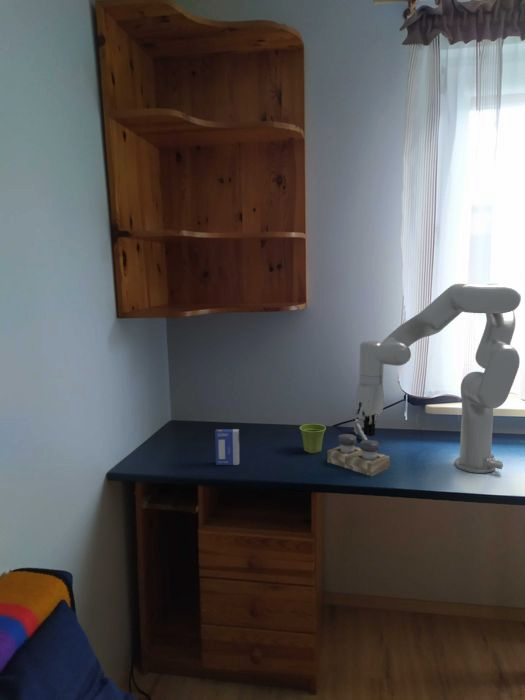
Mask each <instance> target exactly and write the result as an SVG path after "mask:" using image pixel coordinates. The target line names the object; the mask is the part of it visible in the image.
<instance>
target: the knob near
mask: <svg viewBox="0 0 525 700" xmlns="http://www.w3.org/2000/svg"><path fill="white" fill-rule="evenodd" d="M359 444H360V445H359V448H360V449H361V450H362V458H363V459H366V460H369V461H373V460H375V459H377V453H378V451H380V443H379V441H377V440H373V439H368V440H363V439H362V440H361V441H360V443H359Z"/></svg>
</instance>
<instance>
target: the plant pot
mask: <svg viewBox="0 0 525 700" xmlns="http://www.w3.org/2000/svg"><path fill="white" fill-rule="evenodd" d="M299 430H300V432H301V437H302V442H303V450H304V452H307V453H309V454H318V453H320V452H321V451H322V446H323V439H324V434H325V432H326V430H327V427H326V426H325V425H323V424H319V423H318V424H317V423H308V424H307V423H306V424H302V425H300V426H299Z"/></svg>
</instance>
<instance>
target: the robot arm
mask: <svg viewBox="0 0 525 700" xmlns="http://www.w3.org/2000/svg"><path fill="white" fill-rule="evenodd" d="M521 300H522V298H521V293H520V291H519V289H517V288H516V287H515V286H514V285H510V284H504V283H503V284H500V283H488V284H469V283H455V284H451V285H450V286H449V287H448V288H446V289H445V290H444V291H443V292H442V293H441V294H440V295H438V296H437V297H436V298H435V299H434V300H433V301H431V303H430V304H428V305H427V306H426V307H425V308H424V309H422V310H421V311H420V312H419V313H417V314H415V315H414V316H413V317H411V318H409V319H408V320H406V321H405V322H404V323H402V324H401V325H399V326H398V327H397V328H395V329H394V330H393V331H391V333H390V334H389V335H388V336H386V337H385V339H383V340H382V342H381V341H377V340H365V341H362V342H361V343H360V345H359V370H358V371H359V372H358V373H359V374H358V383H359V384H357V388H356V394H355V401H354V414H355V415H358V417H357V419H358V421H362V423H363V433H364V435H365V436H368V437H374V436H375V434H376V423H377V420H378V419H377V418H378V417H379V416H380V415H381V413H382V412H383V411H384V406H385V405H384V401H385V399H384V398H385V397H384V395H385V394H384V365H389V366H396V367H398V366H399V367H400V366H404V365H405V364H407V363H408V362H409V361H410V359H411V356H412V352H411V348H410V346H412V345H413V344H414V343H416V342H418V341H420V340H421V339H424V338H427V337H430V336H433V335H435V334H438V333H440V332H441V331H442V330H443V329H444V328H446V327H447V326H448V325H449V324H450V323H452V321H454V320H455V319H456V318H457V317H458V316H460V315H461V313H469V314H470V313H471V314H485V316H486V322H485V327H484V330H483V333H482V335H481V339H480V342H479V343H478V346H477V350H476V353H475V355H474V356H475V362H476V364H477V365H478V366H480V367H481V368H482V369H484V371H483V372H482V371H471V372H469V373H467V374H466V375H465V376H464V377H463V378H462V380H461V383H460V397H461V398H460V399H461V421H460V422H461V423H460V424H461V425H460V438H459V439H460V440H459V441H460V442H459V443H460V444H459V457H456V458H455V459H454V463H453V464H454V466H455V467H456V468H457V469H459V470H462V471H465V472H469V473H474V474H475V473H476V474H488V473H489V474H490V473H492V472H494V471H495V470H496V469H498V470H502V469H503V467H504V464H503V461H501V460H496V459H495V455H494V454H492V442H493V426H494V425H493V423H494V409H496V408H499V407H501V406H502V405H503V404H505V402H506V401H507V399H508V397H509V395H510V392H511V391H512V387H513V385H514V382H515V380H516V377H517V374H518V371H519V367H520V361H521V360H520V355H519V353H518V351H517V350H516V348H515V347H513V346H512V345H511V342H512V339H513V336H514V333H515V330H516V329H515V328H516V315H515V312H514V311H515V310H516V309H517V308H518V307H519V306H520V304H521Z"/></svg>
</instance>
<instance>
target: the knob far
mask: <svg viewBox="0 0 525 700" xmlns="http://www.w3.org/2000/svg"><path fill="white" fill-rule="evenodd" d="M337 442H338V444H339V446H340V452H343V453H346V454H351V453H354V447H356V446H355V445H356V444H357V436H356V434H355V435H354V434H352V433H341V434H339V435H338V441H337Z"/></svg>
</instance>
